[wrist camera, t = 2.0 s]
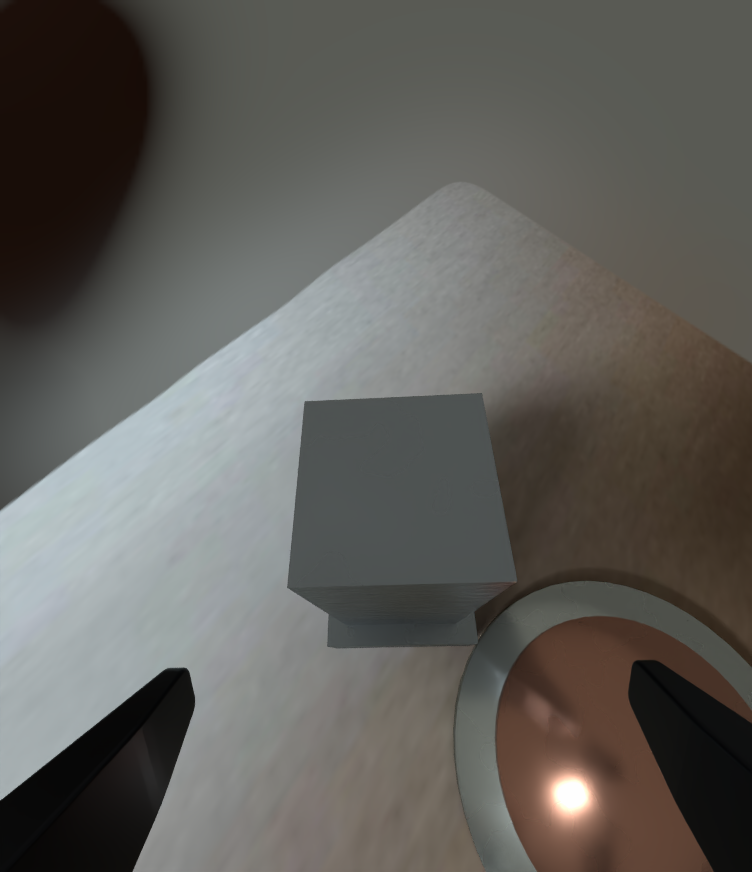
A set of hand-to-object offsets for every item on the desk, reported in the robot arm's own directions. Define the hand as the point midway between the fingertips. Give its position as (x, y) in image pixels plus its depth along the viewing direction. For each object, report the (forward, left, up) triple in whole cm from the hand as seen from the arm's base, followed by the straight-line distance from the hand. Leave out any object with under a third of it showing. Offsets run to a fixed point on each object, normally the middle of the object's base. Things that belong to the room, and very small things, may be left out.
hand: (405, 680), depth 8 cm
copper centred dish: (0, -9, -11) cm, 14 cm away
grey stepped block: (+3, +2, -11) cm, 11 cm away
